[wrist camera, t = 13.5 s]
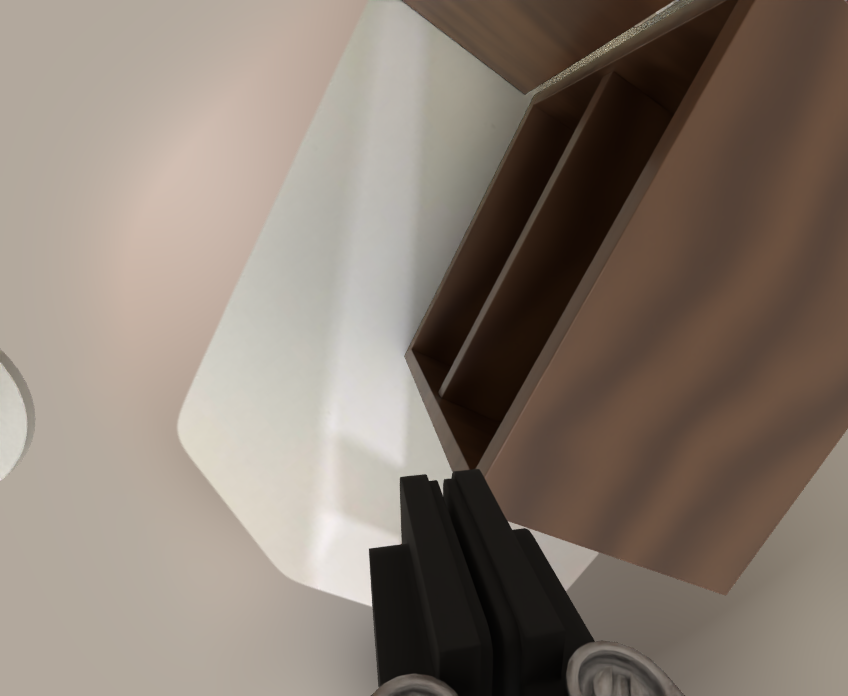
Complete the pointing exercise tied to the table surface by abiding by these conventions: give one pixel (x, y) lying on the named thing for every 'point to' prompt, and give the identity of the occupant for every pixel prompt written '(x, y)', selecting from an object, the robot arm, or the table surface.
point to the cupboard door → (534, 31)
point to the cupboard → (659, 293)
